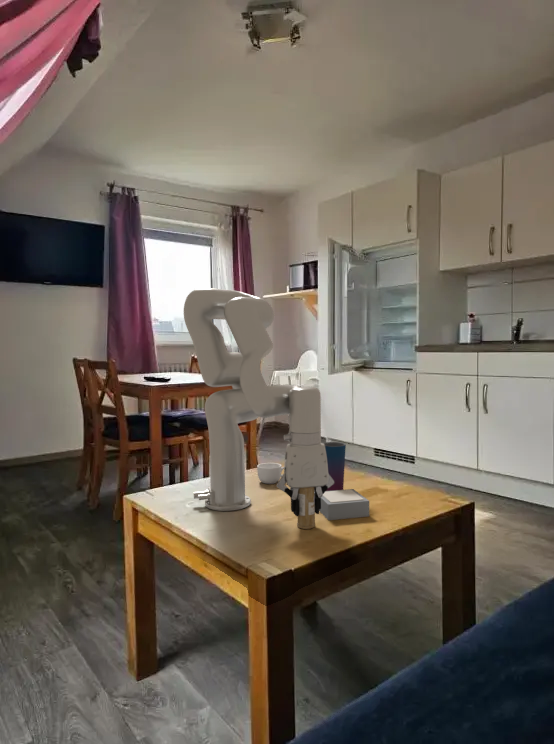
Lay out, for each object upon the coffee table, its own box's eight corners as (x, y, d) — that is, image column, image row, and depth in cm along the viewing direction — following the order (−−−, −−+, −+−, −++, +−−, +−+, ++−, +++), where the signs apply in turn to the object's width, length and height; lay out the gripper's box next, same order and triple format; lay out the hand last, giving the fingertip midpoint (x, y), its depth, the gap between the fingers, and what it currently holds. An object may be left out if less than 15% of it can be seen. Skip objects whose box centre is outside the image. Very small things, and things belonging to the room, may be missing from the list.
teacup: (260, 486, 159) (260, 469, 159) (254, 480, 167) (254, 463, 167) (291, 483, 162) (291, 466, 162) (284, 477, 170) (284, 461, 169)
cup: (347, 498, 146) (347, 446, 145) (323, 498, 146) (322, 446, 145) (344, 491, 153) (344, 441, 152) (321, 491, 153) (321, 441, 152)
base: (328, 520, 128) (328, 503, 128) (315, 506, 139) (314, 491, 139) (369, 516, 131) (369, 500, 131) (353, 503, 142) (353, 488, 141)
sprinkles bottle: (317, 528, 123) (317, 473, 122) (299, 530, 122) (298, 474, 121) (312, 522, 127) (311, 468, 126) (294, 523, 126) (293, 469, 125)
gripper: (274, 443, 118) (275, 521, 119) (343, 439, 121) (344, 515, 122) (267, 437, 125) (268, 511, 126) (333, 434, 129) (333, 505, 130)
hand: (306, 512), depth 124 cm, fingers closed on sprinkles bottle, 4 cm apart
